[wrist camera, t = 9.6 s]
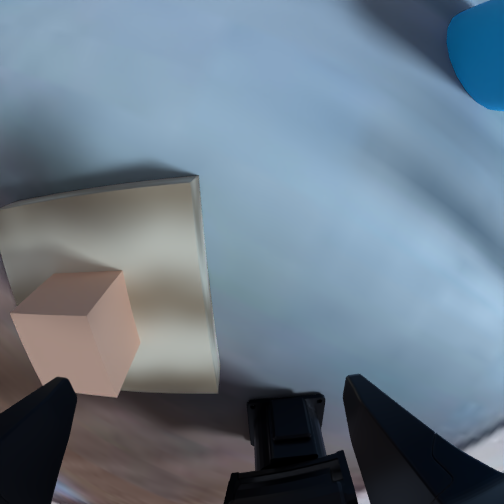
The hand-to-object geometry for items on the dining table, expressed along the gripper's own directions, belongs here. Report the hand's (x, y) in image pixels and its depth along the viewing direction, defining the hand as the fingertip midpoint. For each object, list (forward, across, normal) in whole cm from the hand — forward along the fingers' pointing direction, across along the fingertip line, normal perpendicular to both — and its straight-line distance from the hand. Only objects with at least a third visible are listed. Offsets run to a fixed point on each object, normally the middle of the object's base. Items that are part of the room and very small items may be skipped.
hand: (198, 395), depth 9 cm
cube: (+9, +8, +2) cm, 12 cm away
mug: (+12, -22, -14) cm, 29 cm away
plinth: (+12, +8, +2) cm, 15 cm away
